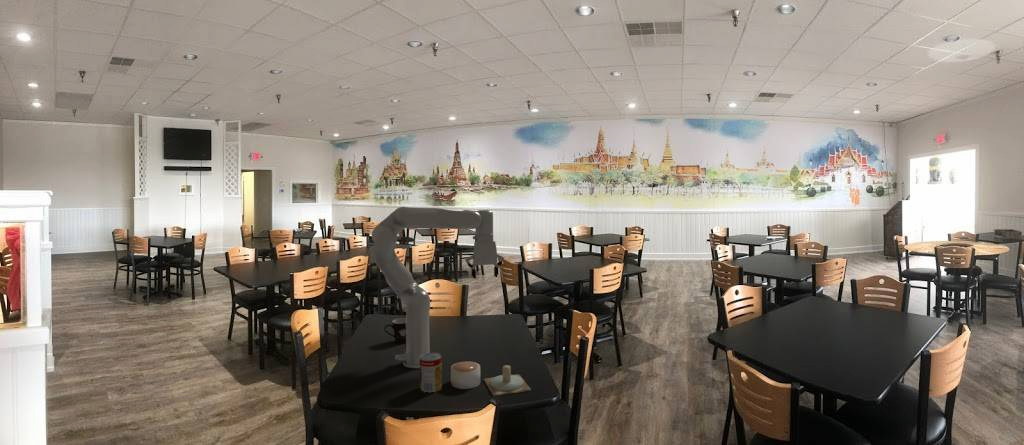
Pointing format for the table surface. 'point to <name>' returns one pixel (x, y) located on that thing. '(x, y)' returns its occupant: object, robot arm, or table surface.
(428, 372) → the canned food
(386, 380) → the table surface
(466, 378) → the bowl
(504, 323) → the table surface
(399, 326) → the coffee mug
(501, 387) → the lid
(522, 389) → the mat
